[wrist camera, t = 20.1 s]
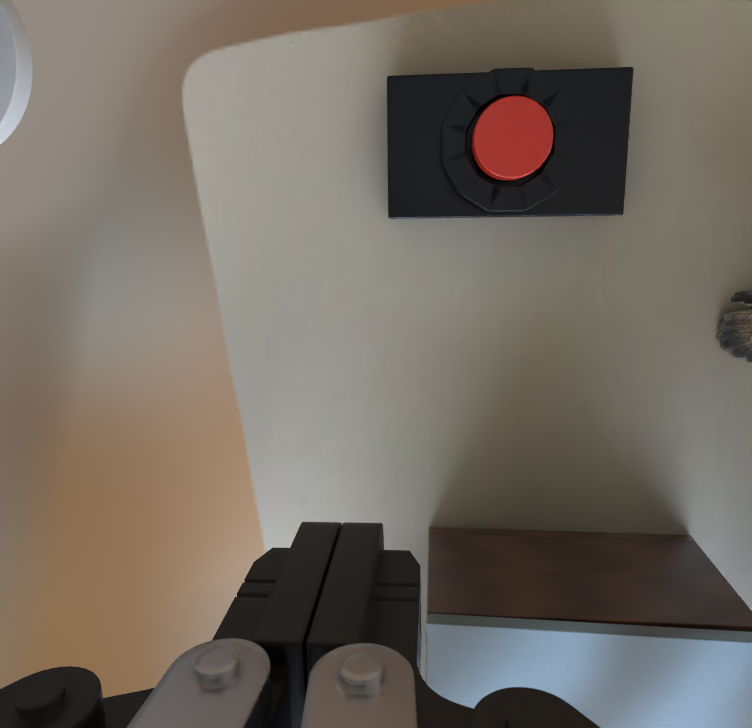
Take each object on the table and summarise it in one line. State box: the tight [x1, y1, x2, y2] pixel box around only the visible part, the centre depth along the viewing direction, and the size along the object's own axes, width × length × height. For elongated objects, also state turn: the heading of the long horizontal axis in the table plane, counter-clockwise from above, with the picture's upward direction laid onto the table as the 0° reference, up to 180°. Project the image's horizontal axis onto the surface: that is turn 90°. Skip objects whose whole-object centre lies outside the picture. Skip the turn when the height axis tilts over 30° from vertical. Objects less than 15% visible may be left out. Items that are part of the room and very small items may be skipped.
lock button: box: [472, 96, 553, 181], centre depth 30 cm, size 4×4×2 cm
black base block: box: [387, 67, 633, 219], centre depth 32 cm, size 12×7×4 cm, turn 91°
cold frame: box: [427, 527, 752, 632], centre depth 35 cm, size 16×13×9 cm
